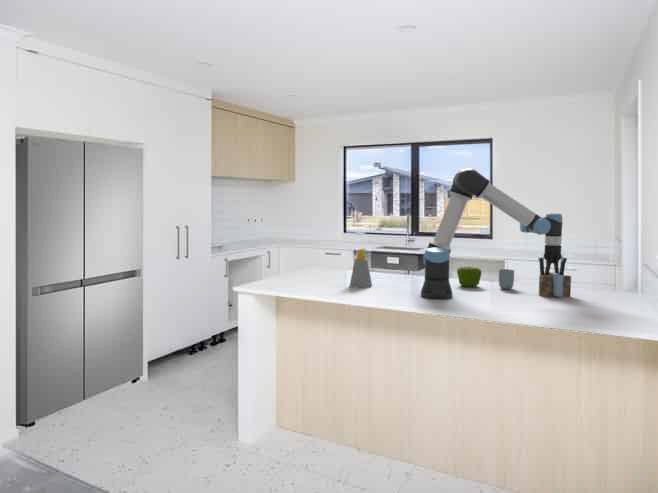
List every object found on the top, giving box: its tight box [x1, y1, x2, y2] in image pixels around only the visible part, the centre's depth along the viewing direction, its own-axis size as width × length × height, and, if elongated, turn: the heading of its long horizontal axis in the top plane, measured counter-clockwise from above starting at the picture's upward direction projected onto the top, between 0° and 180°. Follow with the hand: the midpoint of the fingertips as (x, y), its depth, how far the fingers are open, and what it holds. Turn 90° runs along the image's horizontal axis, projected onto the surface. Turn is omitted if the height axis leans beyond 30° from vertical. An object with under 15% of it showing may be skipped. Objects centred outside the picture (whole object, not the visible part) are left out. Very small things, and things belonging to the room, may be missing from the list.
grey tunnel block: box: [549, 271, 563, 297], centre depth 245 cm, size 12×3×10 cm, turn 176°
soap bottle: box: [349, 248, 373, 289], centre depth 274 cm, size 12×12×20 cm
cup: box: [498, 268, 515, 290], centre depth 265 cm, size 8×8×10 cm
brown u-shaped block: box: [538, 274, 572, 298], centre depth 245 cm, size 14×3×10 cm, turn 86°
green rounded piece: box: [456, 266, 482, 288], centre depth 274 cm, size 12×12×11 cm
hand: (551, 291), depth 250 cm, fingers closed on grey tunnel block, 3 cm apart
